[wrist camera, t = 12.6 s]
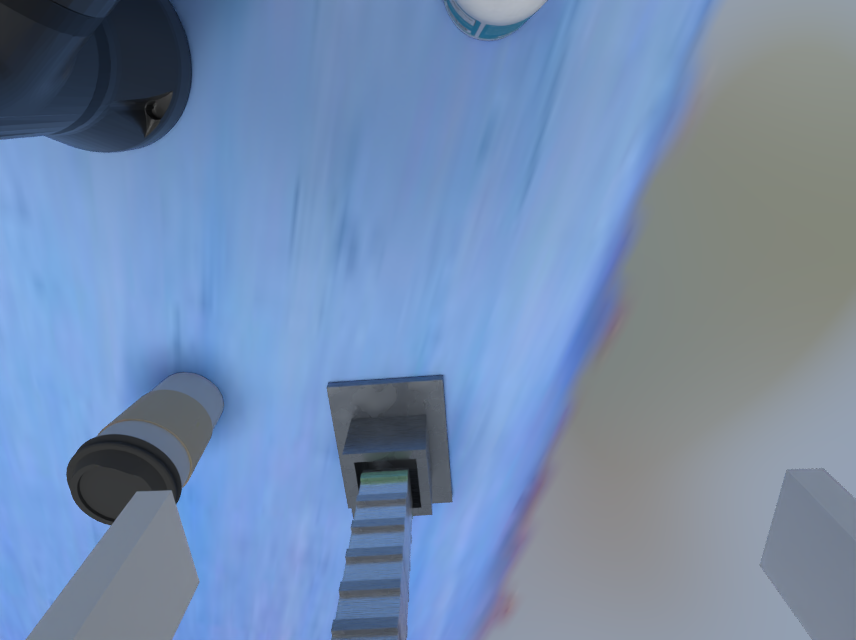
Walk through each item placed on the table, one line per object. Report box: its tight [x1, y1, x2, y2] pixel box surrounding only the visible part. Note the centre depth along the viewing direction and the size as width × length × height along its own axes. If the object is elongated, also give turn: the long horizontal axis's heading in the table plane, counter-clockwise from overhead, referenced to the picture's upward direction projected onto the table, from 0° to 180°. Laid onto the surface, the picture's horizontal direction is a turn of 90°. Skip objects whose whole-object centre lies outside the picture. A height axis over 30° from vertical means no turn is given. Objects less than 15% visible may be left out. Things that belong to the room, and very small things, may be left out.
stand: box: [327, 375, 452, 519], centre depth 53 cm, size 12×16×8 cm
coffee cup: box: [67, 372, 224, 525], centre depth 48 cm, size 9×9×15 cm
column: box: [331, 467, 413, 640], centre depth 41 cm, size 4×6×21 cm
